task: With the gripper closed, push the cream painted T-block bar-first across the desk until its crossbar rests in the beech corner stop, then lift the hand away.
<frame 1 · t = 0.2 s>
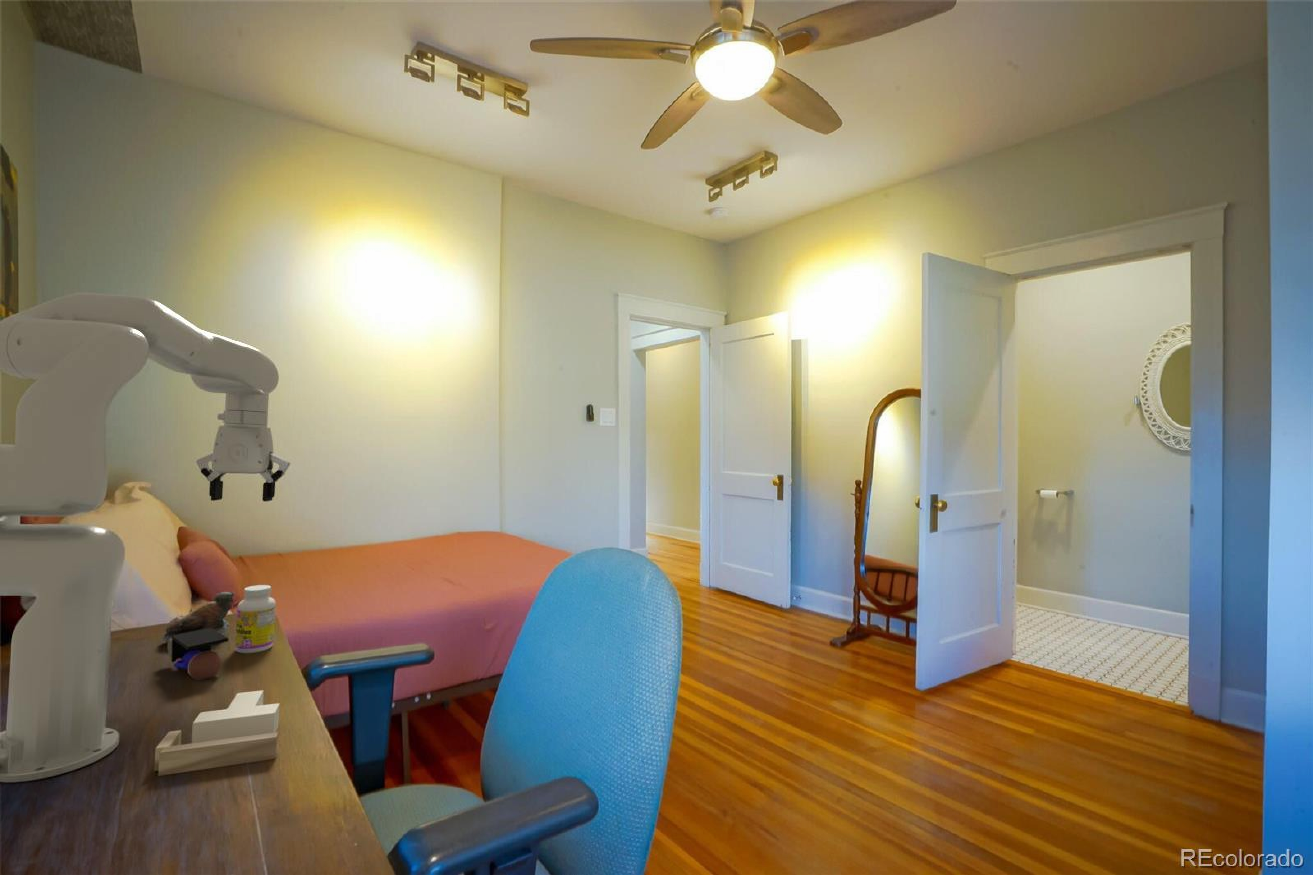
hand: (242, 500, 124), 31 cm above the table, tool pointing down, fingers open, 9 cm apart
supplement bottle: (254, 649, 122), on the table
corner stop: (220, 764, 79), on the table
t block: (239, 730, 88), on the table
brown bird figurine: (198, 641, 127), on the table
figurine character: (195, 672, 110), on the table
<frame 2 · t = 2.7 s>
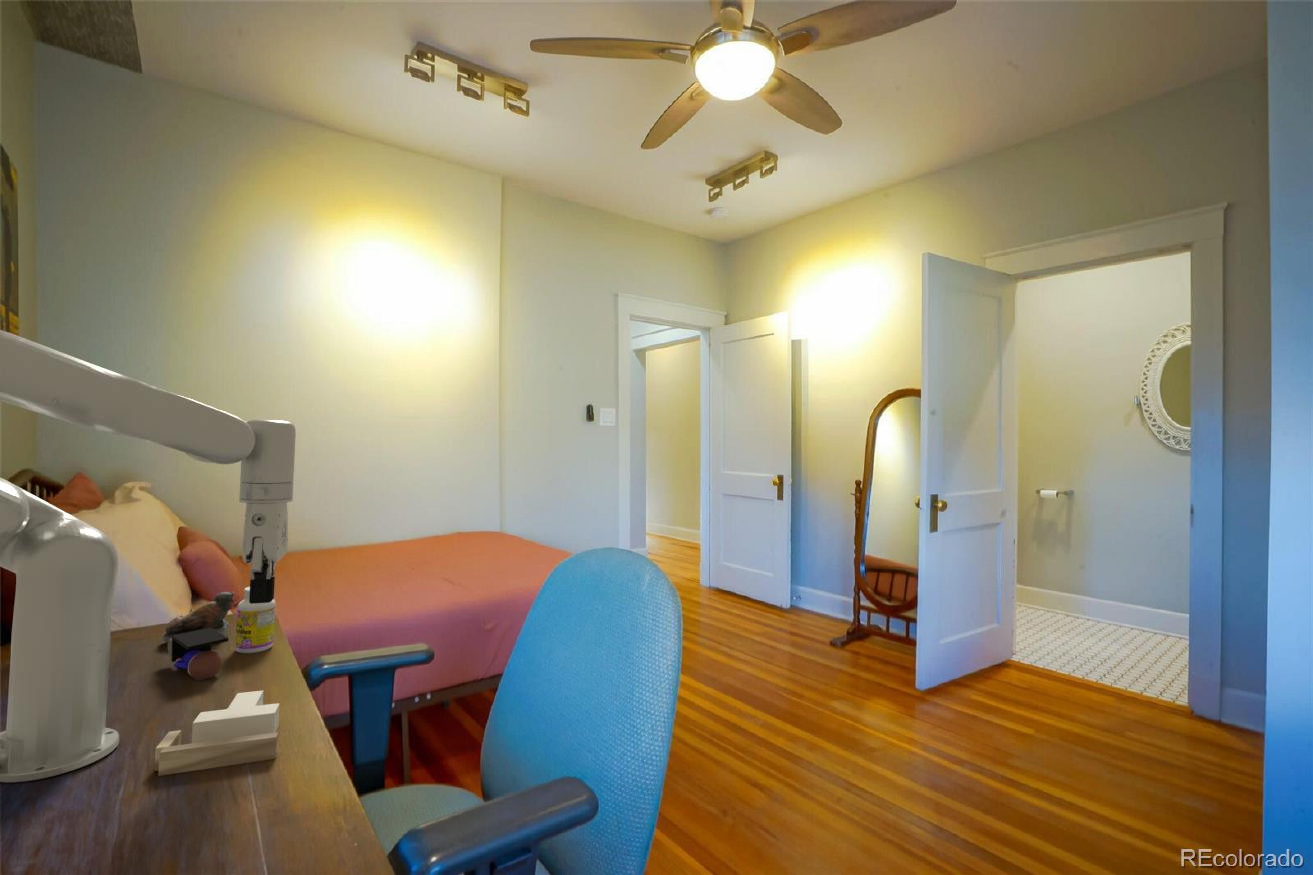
hand: (261, 601, 98), 17 cm above the table, tool pointing down, fingers closed
nothing on the table moved.
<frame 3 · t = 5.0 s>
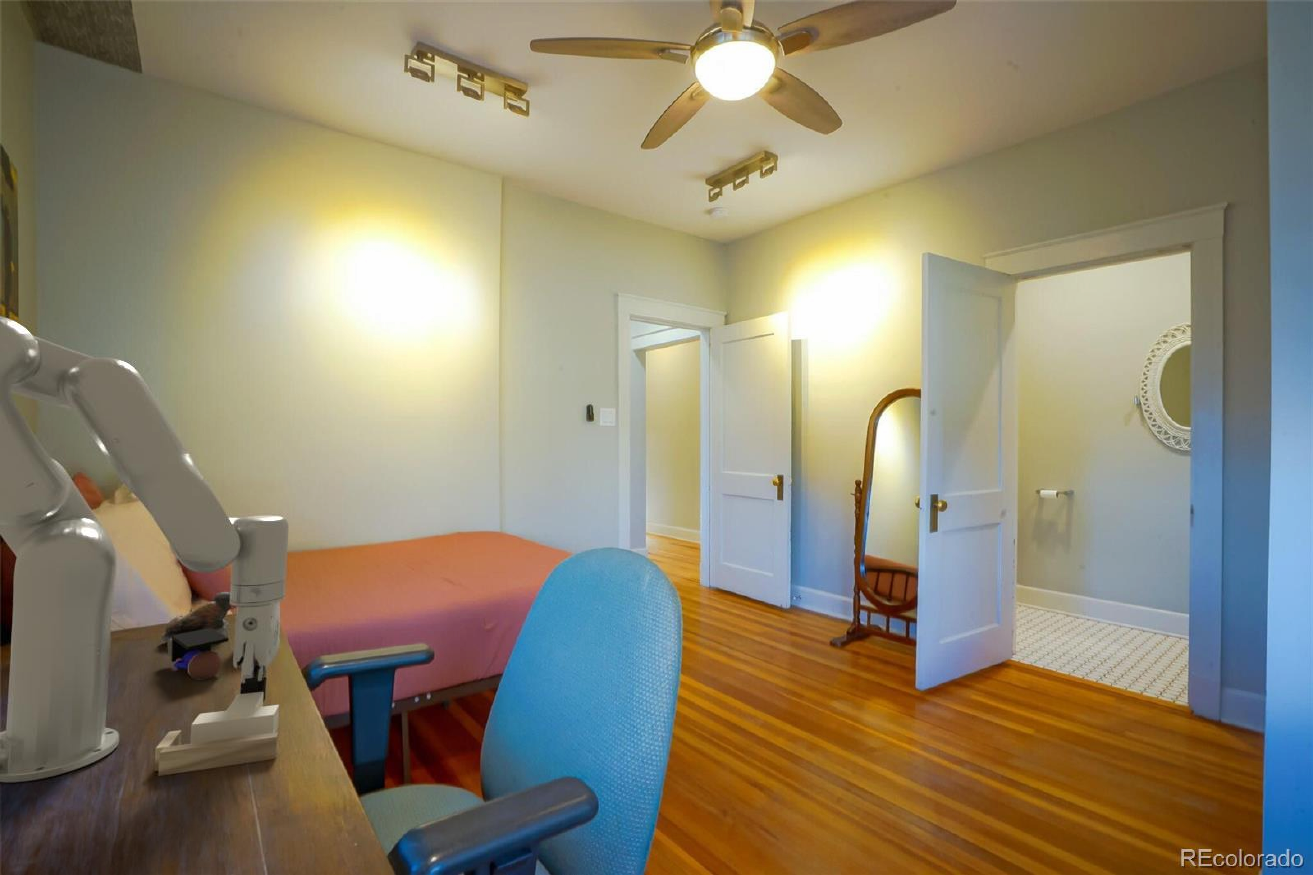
hand: (252, 704, 95), 1 cm above the table, tool pointing down, fingers closed
t block: (239, 732, 88), on the table, touching gripper
everything else where it was.
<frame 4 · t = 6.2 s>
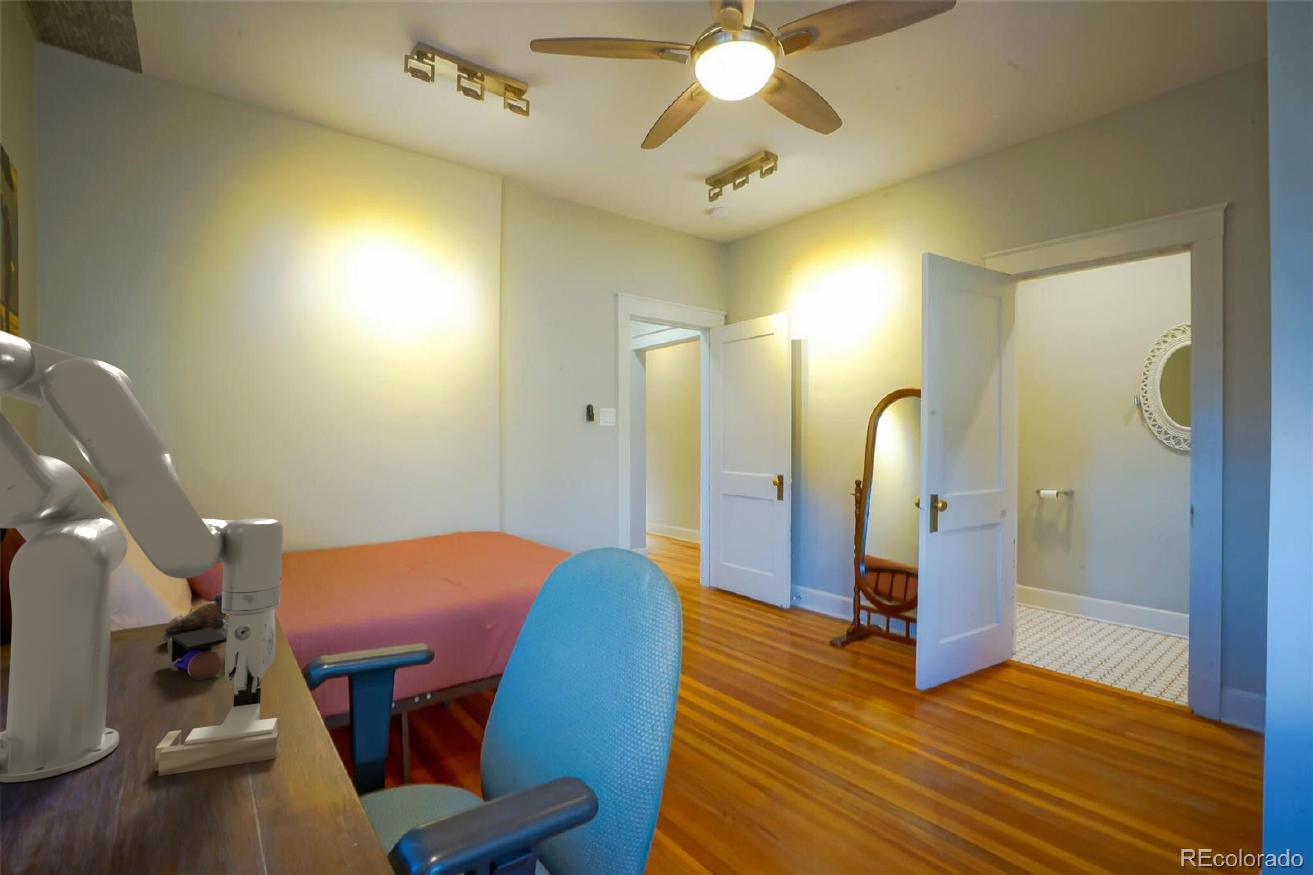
hand: (246, 716, 91), 1 cm above the table, tool pointing down, fingers closed
t block: (235, 747, 84), on the table, touching corner stop, gripper
everything else where it was.
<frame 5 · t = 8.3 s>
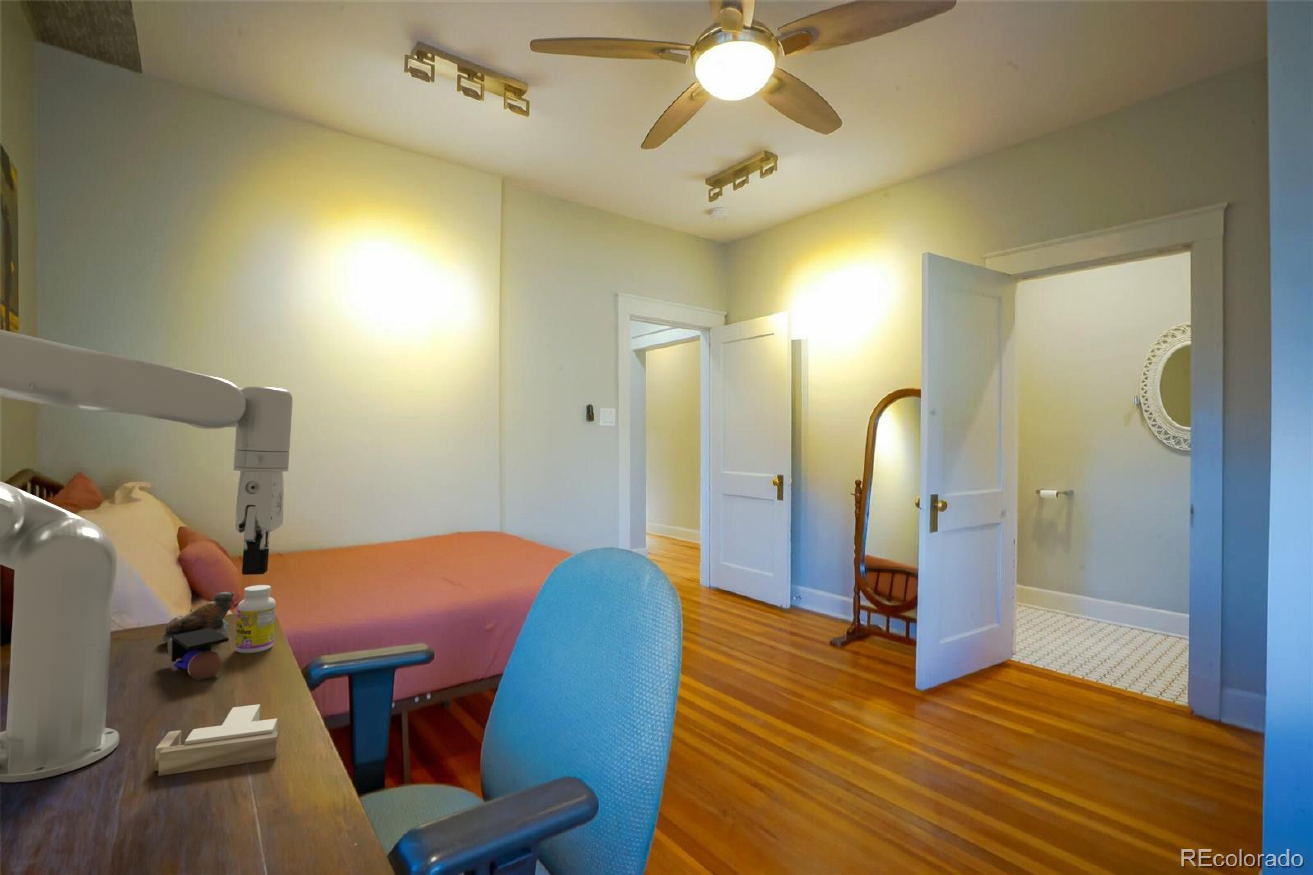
hand: (254, 573, 96), 22 cm above the table, tool pointing down, fingers closed
t block: (235, 748, 84), on the table
everything else where it was.
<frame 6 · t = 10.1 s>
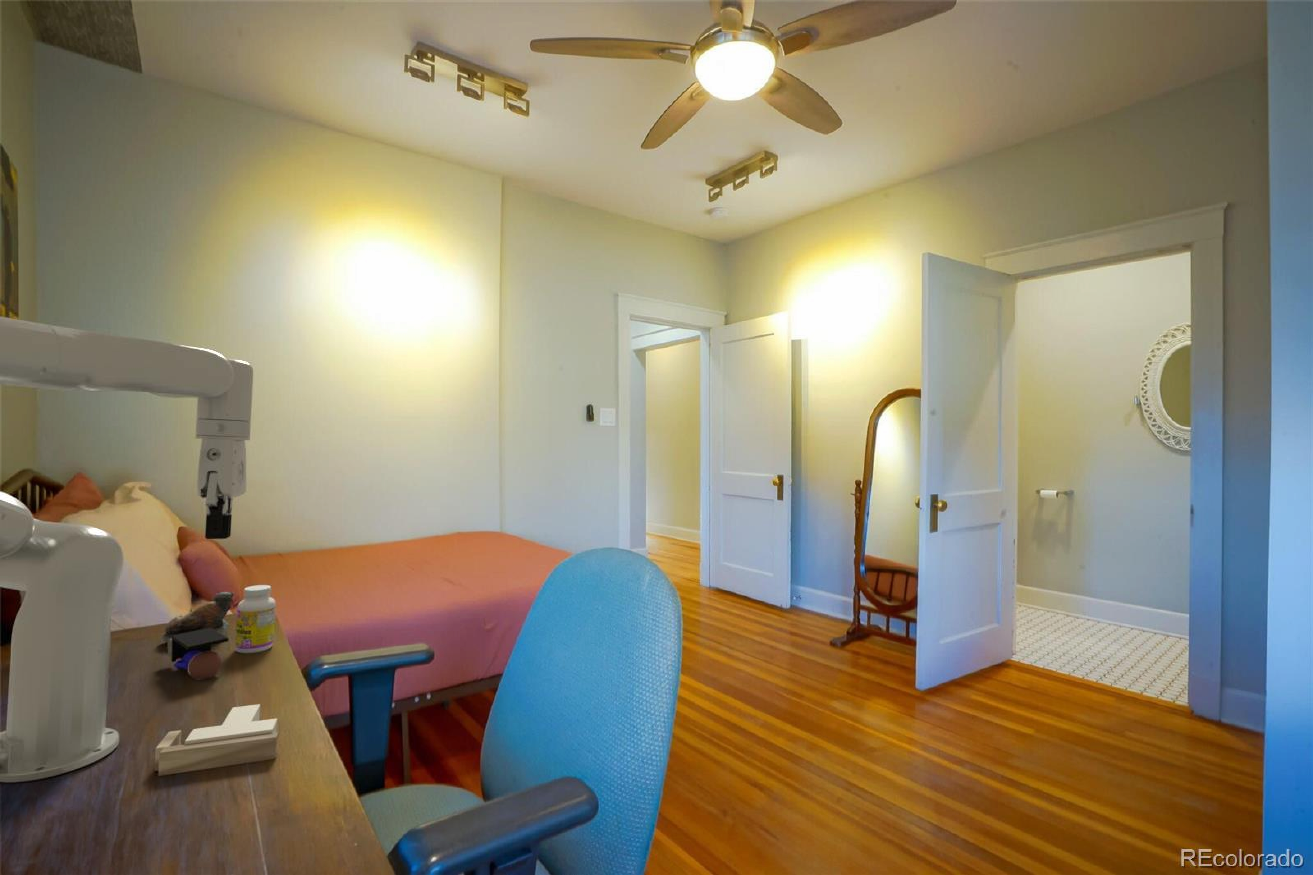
hand: (217, 537, 100), 27 cm above the table, tool pointing down, fingers closed
nothing on the table moved.
at the end: t block 0.9 cm from the target spot, on the table; t block moved 5.7 cm from its start; t block tilted 1° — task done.
